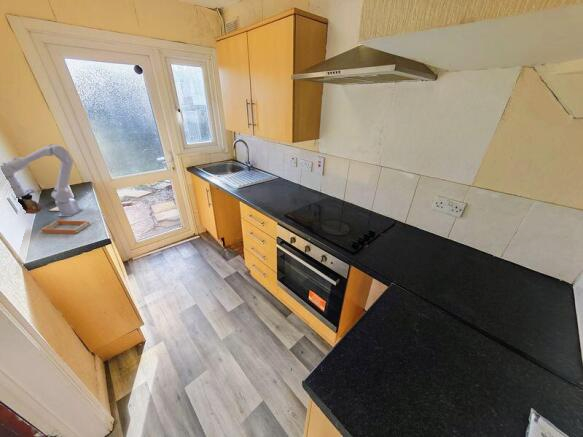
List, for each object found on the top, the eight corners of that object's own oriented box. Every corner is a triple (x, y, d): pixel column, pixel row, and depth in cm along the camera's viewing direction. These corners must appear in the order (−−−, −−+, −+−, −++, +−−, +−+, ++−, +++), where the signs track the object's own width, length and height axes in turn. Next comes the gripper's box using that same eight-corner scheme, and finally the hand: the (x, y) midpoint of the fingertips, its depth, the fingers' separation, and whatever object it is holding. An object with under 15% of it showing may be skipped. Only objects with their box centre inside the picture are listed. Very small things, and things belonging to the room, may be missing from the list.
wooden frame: (59, 223, 138) (57, 220, 137) (90, 224, 138) (88, 221, 137) (43, 232, 129) (40, 229, 128) (75, 233, 129) (73, 230, 128)
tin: (16, 213, 134) (6, 200, 130) (22, 210, 137) (12, 198, 132) (39, 214, 133) (30, 201, 129) (45, 211, 136) (36, 199, 131)
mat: (59, 205, 159) (59, 205, 159) (70, 205, 159) (70, 205, 159) (48, 210, 152) (48, 210, 152) (60, 211, 152) (60, 210, 152)
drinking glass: (76, 195, 174) (70, 183, 169) (71, 199, 169) (65, 186, 164) (66, 196, 173) (60, 184, 168) (61, 200, 167) (54, 187, 162)
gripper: (5, 191, 120) (20, 214, 127) (34, 182, 133) (46, 203, 139) (-7, 191, 121) (8, 213, 127) (23, 181, 133) (36, 202, 140)
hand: (27, 208), depth 133 cm, fingers closed on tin, 2 cm apart
